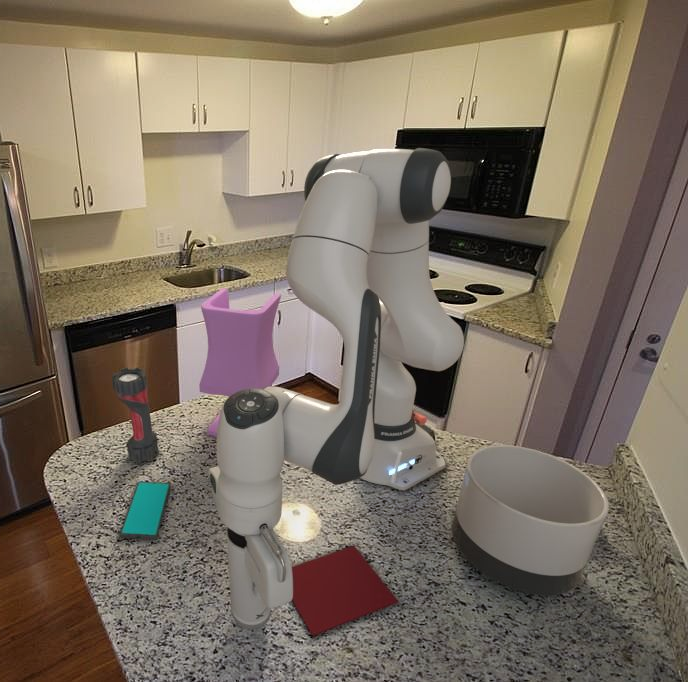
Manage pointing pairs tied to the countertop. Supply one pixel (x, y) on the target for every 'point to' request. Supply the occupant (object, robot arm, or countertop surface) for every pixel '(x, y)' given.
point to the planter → (527, 518)
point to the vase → (238, 348)
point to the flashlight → (137, 413)
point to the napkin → (337, 590)
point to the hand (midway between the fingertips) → (248, 572)
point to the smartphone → (146, 511)
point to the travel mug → (243, 587)
